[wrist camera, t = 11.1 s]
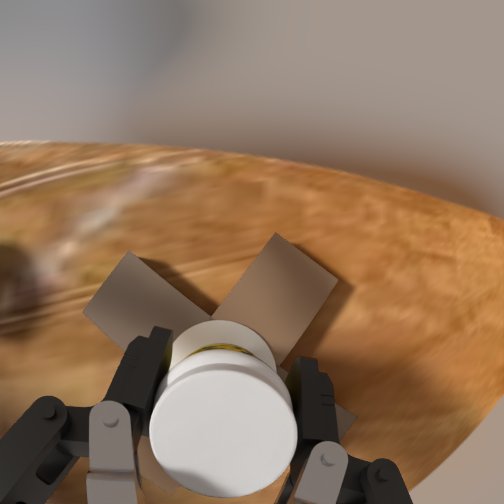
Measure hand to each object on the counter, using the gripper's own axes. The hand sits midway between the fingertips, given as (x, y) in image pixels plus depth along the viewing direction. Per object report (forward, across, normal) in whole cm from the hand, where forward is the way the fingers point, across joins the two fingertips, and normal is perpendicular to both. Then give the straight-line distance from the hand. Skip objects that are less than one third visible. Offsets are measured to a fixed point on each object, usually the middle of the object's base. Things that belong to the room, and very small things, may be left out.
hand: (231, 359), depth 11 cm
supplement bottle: (+2, 0, +4) cm, 5 cm away
